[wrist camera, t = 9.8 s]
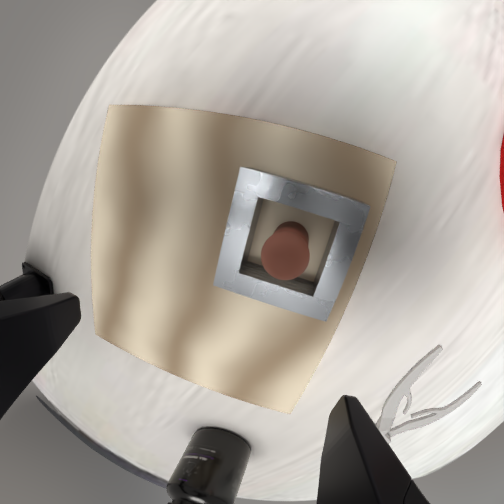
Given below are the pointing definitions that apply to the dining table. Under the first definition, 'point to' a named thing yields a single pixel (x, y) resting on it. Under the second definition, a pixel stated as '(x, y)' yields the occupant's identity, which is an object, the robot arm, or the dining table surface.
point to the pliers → (404, 389)
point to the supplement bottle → (209, 469)
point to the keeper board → (217, 246)
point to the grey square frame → (254, 275)
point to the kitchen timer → (502, 172)
